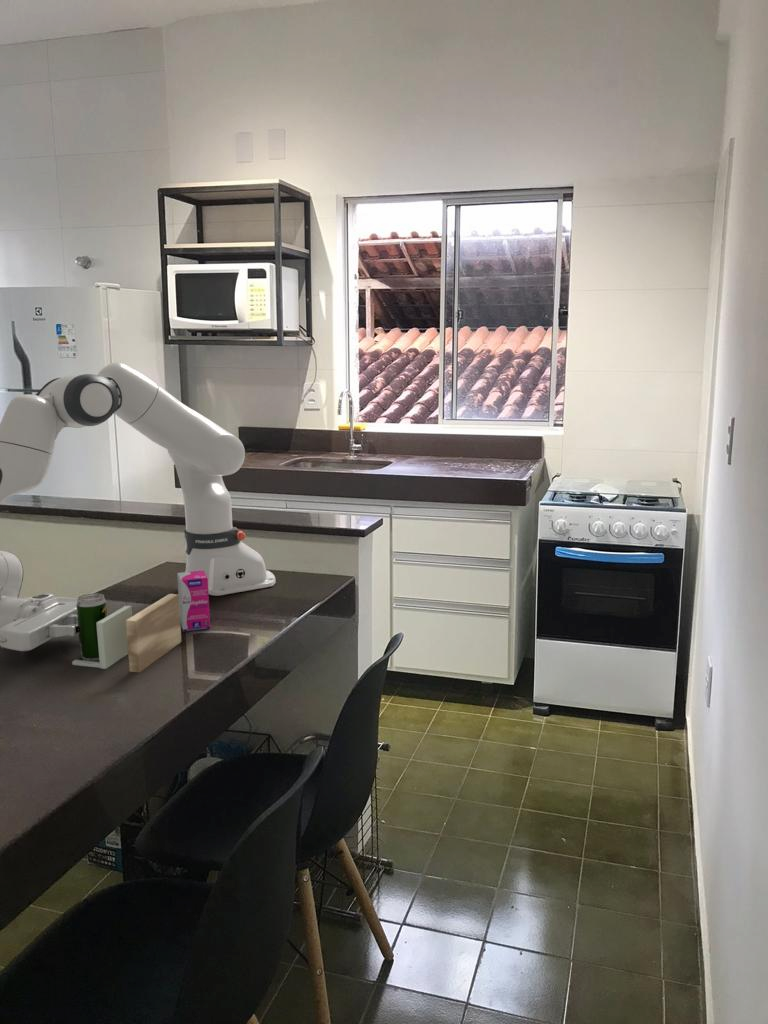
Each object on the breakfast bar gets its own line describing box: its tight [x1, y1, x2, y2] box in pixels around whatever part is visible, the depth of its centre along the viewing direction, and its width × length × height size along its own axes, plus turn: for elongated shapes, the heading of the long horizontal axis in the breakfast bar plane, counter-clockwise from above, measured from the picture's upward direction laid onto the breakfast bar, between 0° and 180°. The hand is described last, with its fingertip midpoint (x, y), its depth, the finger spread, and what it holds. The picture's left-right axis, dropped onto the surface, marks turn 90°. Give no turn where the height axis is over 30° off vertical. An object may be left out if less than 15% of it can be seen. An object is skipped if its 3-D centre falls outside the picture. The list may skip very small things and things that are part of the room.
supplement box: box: [176, 571, 211, 632], centre depth 178 cm, size 6×6×12 cm
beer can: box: [76, 592, 108, 662], centre depth 162 cm, size 5×5×12 cm
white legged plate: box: [71, 605, 133, 670], centre depth 162 cm, size 7×10×9 cm
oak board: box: [126, 593, 182, 673], centre depth 162 cm, size 2×16×10 cm, turn 165°
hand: (82, 627), depth 163 cm, fingers closed on beer can, 2 cm apart
